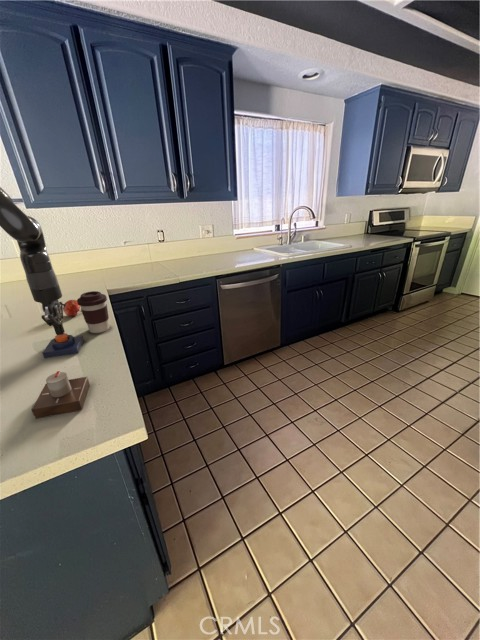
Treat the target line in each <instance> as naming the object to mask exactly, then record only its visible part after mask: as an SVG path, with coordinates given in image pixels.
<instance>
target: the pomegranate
mask: <svg viewBox="0 0 480 640" xmlns="http://www.w3.org/2000/svg"><path fill="white" fill-rule="evenodd" d="M79 312H80V313H82V311H81V306H80V305H78V303H77V299H69V300H68V299H67V301H66V302H64V303H63V313H64V314H65V315H66V316H69V317H73V318H74V317H76V316H77V315H78V313H79Z"/></svg>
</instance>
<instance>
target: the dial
mask: <svg viewBox="0 0 480 640" xmlns="http://www.w3.org/2000/svg"><path fill="white" fill-rule="evenodd" d="M69 380H70V378H69V376H68V374H67V372H64V371H59V370H58V371H56V372H54V373H52V374H50V375H48V376H47V377H46V379H45V382H46V383H47V385H48V388H49V390H50V393H51V395H52V396H53V397H61V396H64V395H66V394H68V393H69V392H70V391H71V385H70V382H69ZM46 383H45V384H46Z"/></svg>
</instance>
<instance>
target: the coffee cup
mask: <svg viewBox="0 0 480 640" xmlns="http://www.w3.org/2000/svg"><path fill="white" fill-rule="evenodd" d="M76 300H77V303H78V305H80V312H81V311H82V312H81V313H82V316H83V319H84V322H85V324H86V326H87V328H88V331H89V332H90V333H92V334H100V333H101V334H102V333H104V332H106V331H108V330H110V321H109V318H110V316H109V311H108V305H107V300H108V297H107V295H106V294H104V293H102V292H101V291H98V290H97V291H96V290H92V291H87V292H83V293H82V294H80V297H78V298H77V299H76Z"/></svg>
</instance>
